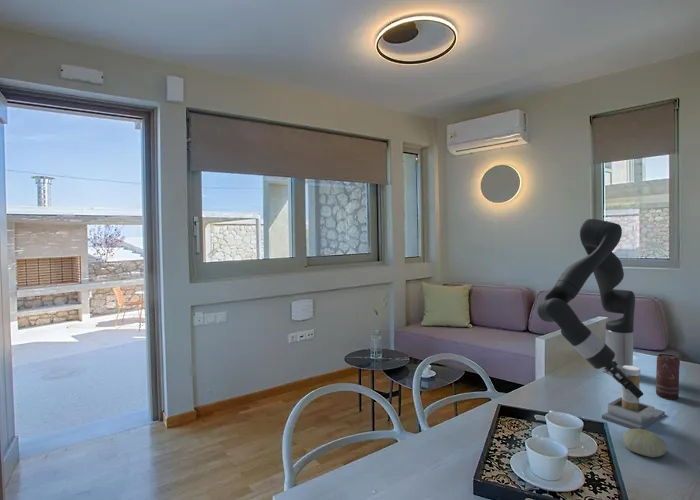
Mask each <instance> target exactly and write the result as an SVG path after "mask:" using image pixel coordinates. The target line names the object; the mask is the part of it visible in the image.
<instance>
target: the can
mask: <svg viewBox="0 0 700 500" xmlns="http://www.w3.org/2000/svg"><path fill="white" fill-rule="evenodd" d="M680 365H681V359H680V357H679V356H676V355H673V354H669V353H668V354H667V353H659V354H658V355H657V357H656V375H655V376H656V378H655V379H656V381H655V395H657V396H658V397H659V398H662V399H666V400H671V401H674V400H675V401H676V400H677V399H678V398H679V396H680V395H679V393H680V390H679V389H680Z"/></svg>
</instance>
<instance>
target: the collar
mask: <svg viewBox="0 0 700 500" xmlns="http://www.w3.org/2000/svg"><path fill="white" fill-rule="evenodd" d="M654 408H655V406H653V405H649V404H647V403H646V404H645V403H643V402H640V401H639V412H636V411H633V410H629V409H626V408H623V407H622V396H621V397H618V398H617V399H615V400H613V401H611V402H609V403H607V412H608V414H610V415H613V416H616V417H619V418H622V419H625V420H628V421H631V422H634V423H637V424H640V425H642V424H643V423H645V422H646V421H648V420H649V419H651V418H653V417H654Z"/></svg>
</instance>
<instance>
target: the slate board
mask: <svg viewBox="0 0 700 500" xmlns="http://www.w3.org/2000/svg"><path fill="white" fill-rule="evenodd" d="M665 415H666V412H665V411H664V410H660V409H657V408H655V407H654V417H653V418H651V419H649V420H648V421H646V422H645V423H643V424H642V425H640V424H637V423H634V422H631V421H628V420H625V419H622V418H619V417H616V416H613V415H610V414H608V411H607V412H604V413H603V414H602V415H601V419H602V420H606V421H609V422H611V423H614V424H616V425H621V426H622V427H625V428H628V429H643V430H645V428H647V427H648V426H650V425H651V424H653V423H655V422H656V421H657V420H659V419H660V418H662V417H664V416H665Z"/></svg>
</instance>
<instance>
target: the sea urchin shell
mask: <svg viewBox="0 0 700 500" xmlns="http://www.w3.org/2000/svg"><path fill="white" fill-rule="evenodd" d="M622 440H623V444H624V446H625V447H626V448H627V450H629V451H630V452H632V453H636V454H637V455H641V456H643V457H649V458H659V457H661V456H664V455H665V454H666V453H667V450H668V447H667V445H666V442H665V441H664V439H662V438H661V437H660V436H659V435H658V434H656V433H654V432H651V431H649V430H647V429H631V428H629V429H627V430H626V431H625V432H624V434H623V436H622Z"/></svg>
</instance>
